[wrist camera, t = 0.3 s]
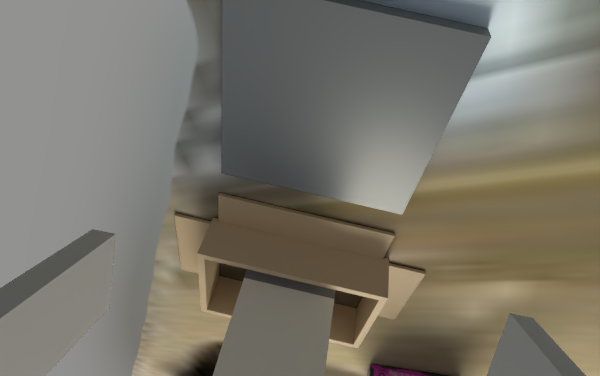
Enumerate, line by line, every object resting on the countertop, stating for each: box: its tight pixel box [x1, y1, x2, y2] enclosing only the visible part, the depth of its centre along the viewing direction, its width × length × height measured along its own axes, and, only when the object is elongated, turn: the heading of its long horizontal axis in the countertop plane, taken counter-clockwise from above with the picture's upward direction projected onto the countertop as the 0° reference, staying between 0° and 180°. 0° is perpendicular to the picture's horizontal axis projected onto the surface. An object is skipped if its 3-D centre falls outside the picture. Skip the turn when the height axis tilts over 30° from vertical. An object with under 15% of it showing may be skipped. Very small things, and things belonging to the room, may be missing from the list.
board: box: [221, 0, 491, 214], centre depth 26 cm, size 14×14×1 cm
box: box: [213, 269, 335, 376], centre depth 34 cm, size 6×8×16 cm
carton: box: [175, 193, 425, 348], centre depth 38 cm, size 17×23×4 cm
